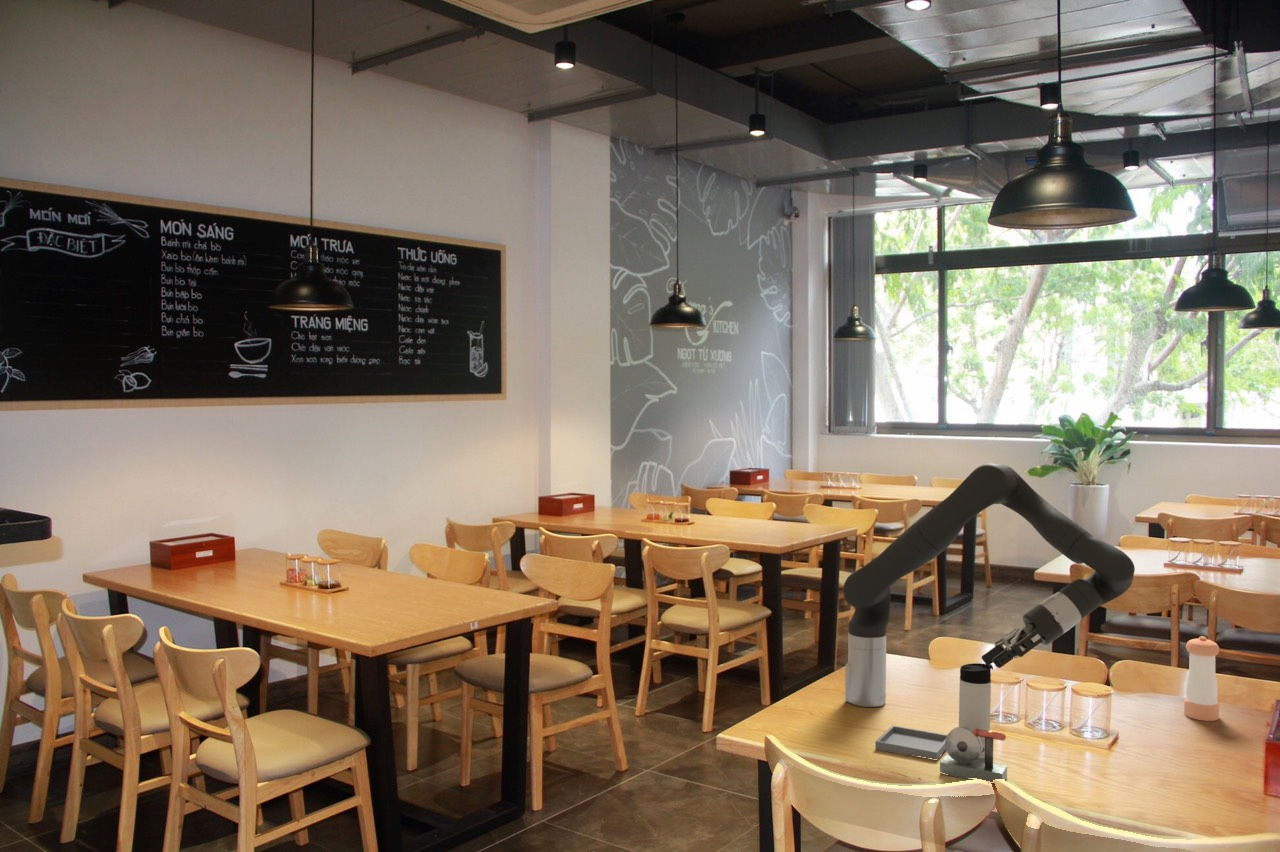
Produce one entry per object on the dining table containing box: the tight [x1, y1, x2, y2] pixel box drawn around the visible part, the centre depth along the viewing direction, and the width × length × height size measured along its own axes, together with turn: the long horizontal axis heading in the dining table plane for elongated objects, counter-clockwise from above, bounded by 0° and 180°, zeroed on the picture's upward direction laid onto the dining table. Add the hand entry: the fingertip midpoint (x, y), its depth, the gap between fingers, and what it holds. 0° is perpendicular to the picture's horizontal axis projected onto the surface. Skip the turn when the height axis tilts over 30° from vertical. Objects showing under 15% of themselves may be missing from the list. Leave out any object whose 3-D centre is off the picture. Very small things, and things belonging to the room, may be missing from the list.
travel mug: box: [958, 662, 994, 762], centre depth 210 cm, size 6×7×20 cm
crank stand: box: [939, 726, 1008, 782], centre depth 201 cm, size 12×5×10 cm, turn 59°
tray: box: [874, 724, 948, 760], centre depth 217 cm, size 13×12×2 cm
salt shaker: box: [1183, 635, 1220, 722], centre depth 238 cm, size 7×7×19 cm
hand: (989, 662), depth 208 cm, fingers open, 8 cm apart
